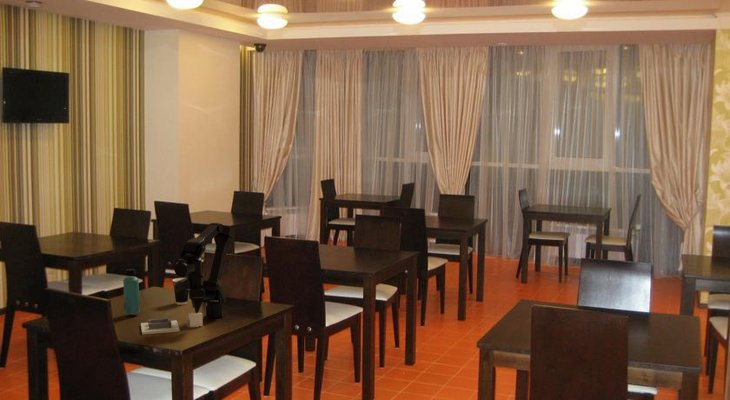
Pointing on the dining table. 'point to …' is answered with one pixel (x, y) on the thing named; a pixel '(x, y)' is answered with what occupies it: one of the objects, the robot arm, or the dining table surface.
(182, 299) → the dixie cup
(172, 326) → the header board
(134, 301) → the beverage bottle
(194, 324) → the plug
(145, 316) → the dining table surface
